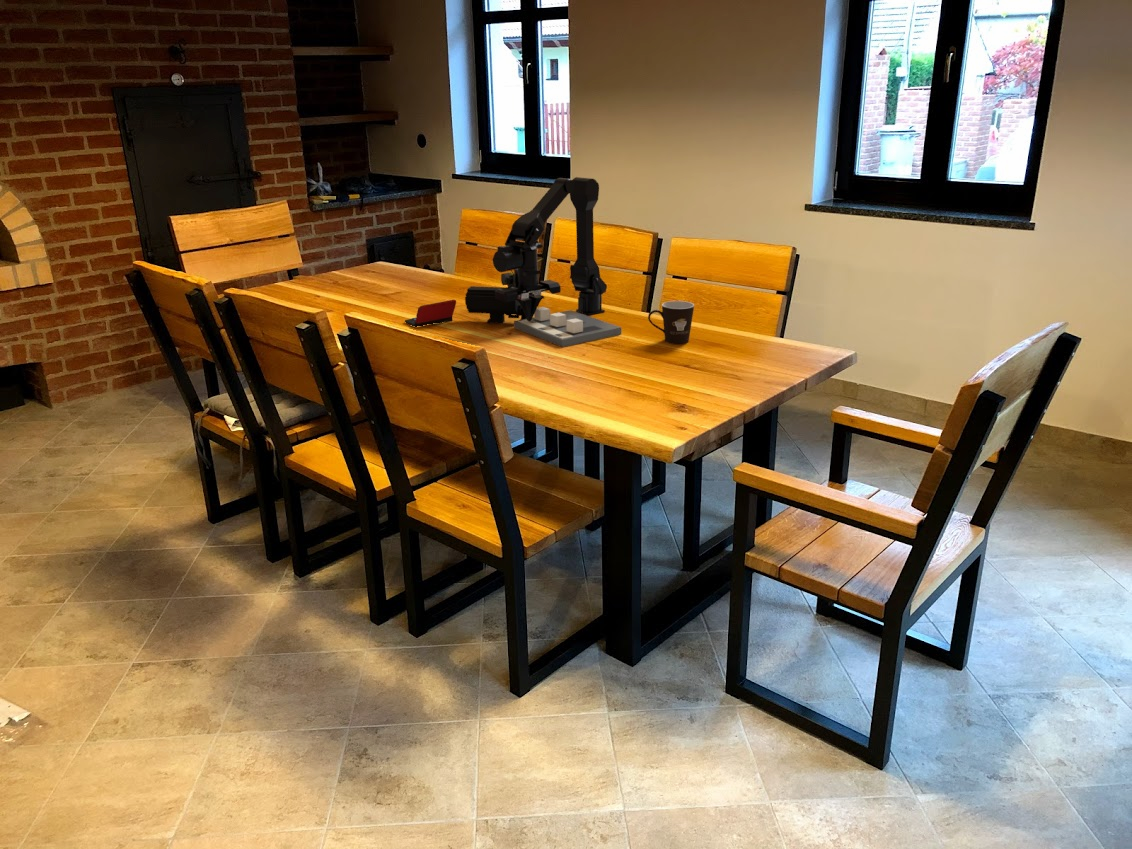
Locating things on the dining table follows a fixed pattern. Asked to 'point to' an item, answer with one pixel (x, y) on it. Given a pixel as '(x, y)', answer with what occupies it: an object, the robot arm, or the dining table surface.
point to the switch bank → (561, 336)
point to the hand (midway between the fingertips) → (529, 320)
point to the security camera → (491, 304)
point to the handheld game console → (433, 313)
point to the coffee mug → (676, 321)
